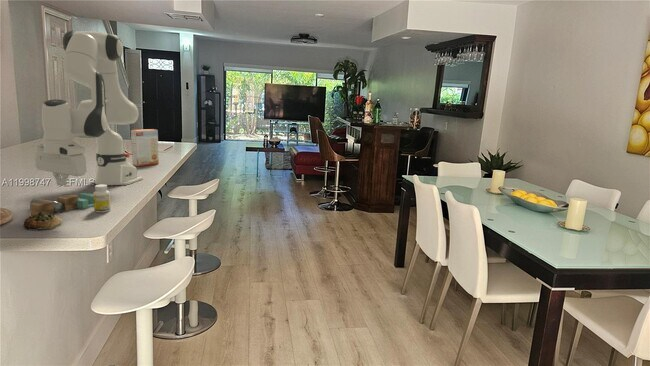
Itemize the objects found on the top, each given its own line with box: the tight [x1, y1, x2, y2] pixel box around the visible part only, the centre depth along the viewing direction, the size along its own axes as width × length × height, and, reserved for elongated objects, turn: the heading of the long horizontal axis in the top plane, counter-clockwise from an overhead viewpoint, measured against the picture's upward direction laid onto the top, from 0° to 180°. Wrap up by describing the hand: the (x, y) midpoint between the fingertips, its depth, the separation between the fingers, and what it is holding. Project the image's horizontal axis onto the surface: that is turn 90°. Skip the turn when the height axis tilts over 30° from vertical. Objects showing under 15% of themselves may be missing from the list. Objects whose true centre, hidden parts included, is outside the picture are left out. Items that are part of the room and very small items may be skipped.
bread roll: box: [23, 212, 63, 231], centre depth 139 cm, size 11×11×5 cm
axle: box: [29, 198, 64, 214], centre depth 155 cm, size 4×12×4 cm, turn 72°
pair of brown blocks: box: [29, 194, 79, 216], centre depth 154 cm, size 16×4×4 cm, turn 162°
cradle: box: [76, 192, 94, 210], centre depth 165 cm, size 10×10×3 cm
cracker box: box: [130, 128, 160, 167], centre depth 250 cm, size 14×6×21 cm, turn 144°
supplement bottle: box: [92, 184, 111, 213], centre depth 158 cm, size 5×5×10 cm
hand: (61, 184), depth 151 cm, fingers closed
